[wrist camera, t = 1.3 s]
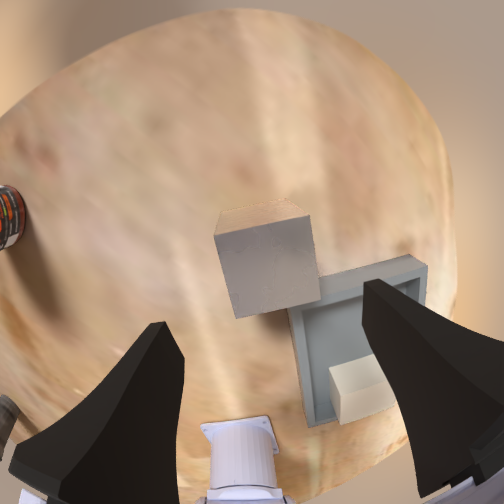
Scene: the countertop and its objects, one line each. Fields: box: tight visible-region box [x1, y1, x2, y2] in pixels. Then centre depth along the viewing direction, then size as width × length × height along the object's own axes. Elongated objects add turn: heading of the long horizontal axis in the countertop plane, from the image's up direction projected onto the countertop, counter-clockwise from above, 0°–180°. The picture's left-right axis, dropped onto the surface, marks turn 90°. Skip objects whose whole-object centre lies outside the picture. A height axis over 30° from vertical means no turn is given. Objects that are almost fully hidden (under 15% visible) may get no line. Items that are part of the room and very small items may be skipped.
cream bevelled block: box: [329, 354, 396, 425], centre depth 23 cm, size 5×6×4 cm
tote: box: [287, 254, 428, 428], centre depth 23 cm, size 16×12×3 cm
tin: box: [214, 198, 321, 319], centre depth 17 cm, size 5×5×7 cm
